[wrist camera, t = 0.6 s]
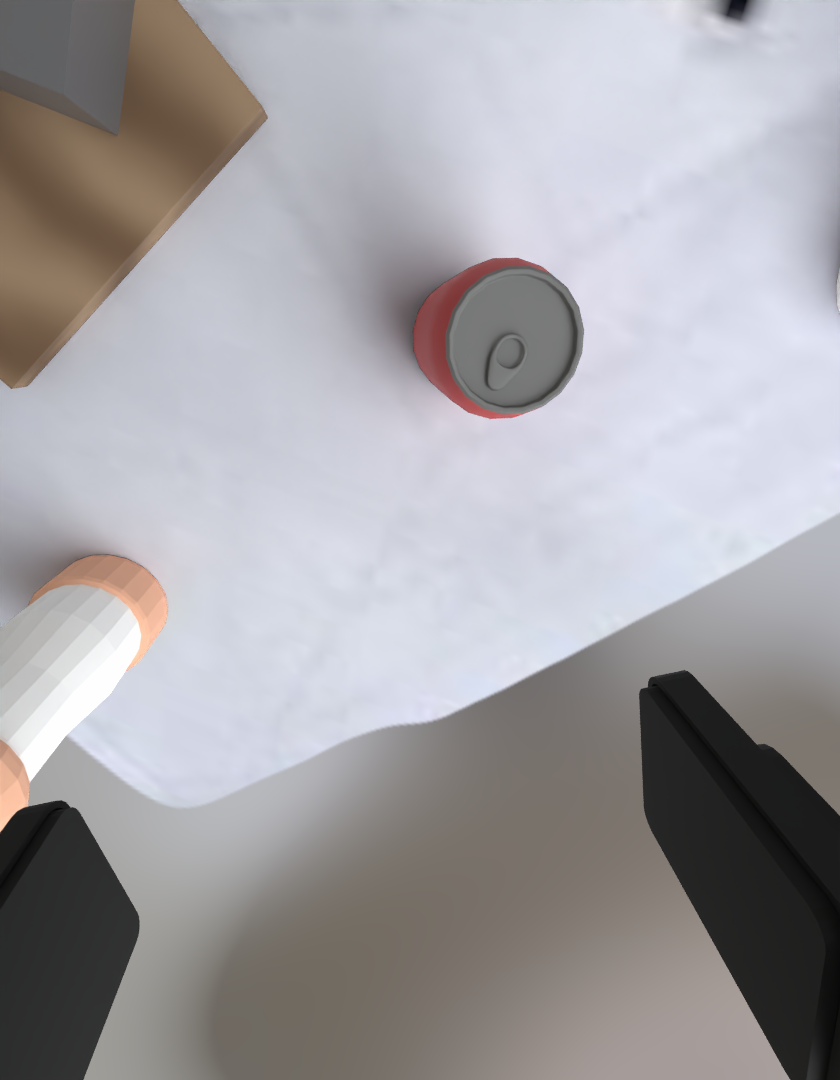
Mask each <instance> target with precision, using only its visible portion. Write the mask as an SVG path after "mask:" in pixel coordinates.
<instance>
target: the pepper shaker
mask: <svg viewBox="0 0 840 1080" xmlns="http://www.w3.org/2000/svg"><path fill="white" fill-rule="evenodd" d="M167 612H168V606H167V601H166V596H165V593H164V591H163V589H162V588H161V586H160V584H159V583H158V581H157V579H155V578H154V577H153V576H152V575H151V574H150V573H149V572H148V571H147V570H146V569H145V568H144V567H142V566H140V565H138V564H136V563H134V562H132V561H130V560H128V559H125V558H121V557H117V556H112V555H92V556H88V557H85V558H83V559H80V560H77V561H75V562H73V563H72V564H71V565H69V566H68V567H67V568H66V569H64V570H63V571H62V572H61V573H59V574H58V575H57V576H55V577H54V578H53V579H52V580H50V581H49V582H48V583H46V584H45V585H44V586H43V587H42V588H40V589H39V590H38V591H37V592H36V593H34V595H33V597H32V599H31V601H30V603H29V604H28V606H27V607H26V608H25V609H24V610H22V611H21V612H20V613H18V614H17V615H16V616H14V617H13V618H12V619H10V620H9V621H8V622H7V623H6V624H4V625H3V626H2V627H1V628H0V832H1V831H2V829H3V828H4V827H5V825H6V824H7V823H8V821H9V820H10V818H11V817H12V816H13V815H14V814H15V813H16V812H17V811H18V810H20V809H22V808H24V807H28V799H29V785H30V781H31V780H32V779H33V778H34V776H35V775H36V774H37V772H38V771H39V770H40V768H41V767H42V766H43V765H44V763H45V762H46V761H47V759H48V758H49V757H50V755H51V754H52V753H53V752H54V750H55V749H56V748H57V746H58V745H59V744H60V742H61V741H62V740H63V738H64V737H65V736H66V735H67V734H68V733H69V732H70V731H71V730H72V729H73V728H74V727H75V726H76V725H77V724H78V723H80V722H81V721H82V720H83V719H84V718H85V717H86V716H87V715H88V714H89V713H90V712H91V711H93V710H94V709H95V708H96V707H97V706H98V705H99V704H100V703H101V702H102V701H103V700H104V699H105V698H107V697H108V696H109V695H110V693H111V692H112V690H113V689H114V687H115V686H116V684H117V683H118V681H119V680H120V678H121V677H122V675H123V674H124V672H125V671H128V670H129V669H130V668H132V667H133V666H134V665H136V664H137V663H138V662H139V661H140V660H141V659H142V657H143V656H144V655H145V653H146V652H147V650H148V649H149V647H150V646H151V645H152V643H153V642H154V640H155V639H156V637H157V636H158V634H159V633H160V631H161V630H162V628H163V626H164V625H165V623H166V618H167Z"/></svg>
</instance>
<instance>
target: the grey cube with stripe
mask: <svg viewBox="0 0 840 1080" xmlns="http://www.w3.org/2000/svg"><path fill="white" fill-rule="evenodd" d="M134 5H135V0H0V90H2V91H5V92H7V93H10V94H12V95H15V96H18V97H20V98H23V99H25V100H28V101H30V102H33V103H35V104H38V105H40V106H43V107H46V108H48V109H51V110H53V111H56V112H58V113H61V114H63V115H66V116H68V117H71V118H74V119H76V120H79V121H81V122H84V123H86V124H89V125H91V126H94V127H96V128H99V129H102V130H104V131H107V132H109V133H112V134H114V135H117V136H118V132H119V124H120V116H121V108H122V100H123V92H124V84H125V76H126V69H127V61H128V53H129V45H130V37H131V29H132V21H133V13H134Z"/></svg>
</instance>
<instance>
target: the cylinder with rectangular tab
mask: <svg viewBox="0 0 840 1080" xmlns="http://www.w3.org/2000/svg"><path fill="white" fill-rule="evenodd" d="M836 291H837V307H838V310H839V313H840V269H839V274H838V279H837V283H836Z"/></svg>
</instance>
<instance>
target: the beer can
mask: <svg viewBox="0 0 840 1080" xmlns="http://www.w3.org/2000/svg"><path fill="white" fill-rule="evenodd" d="M583 335H584V328H583V323H582V319H581V314H580V310H579V306H578V305H577V303H576V301H575V300H574V298H573V296H572V295H571V293H570V291H569V290H568V288H567V287H566V286H565V285H564V284H562V283H561V282H560V281H559V280H558V279H556V278H555V277H554V276H553V275H552V274H550V273H549V272H548V271H547V270H546V269H544V268H543V267H541V266H539V265H536V264H533V263H531V262H528V261H525V260H522V259H519V258H493V259H490V260H487V261H485V262H482V263H480V264H477V265H475V266H472V267H469V268H468V269H466V270H464V271H463V272H461V273H460V274H458V275H456V276H455V277H453V278H452V279H450V280H448V281H447V282H445V283H444V284H442V285H441V286H440V287H439V288H437V289H436V290H435V291H434V292H433V293H431V294H430V295H429V296H428V297H427V299H426V300H425V302H424V304H423V305H422V307H421V308H420V310H419V312H418V314H417V318H416V321H415V325H414V329H413V348H414V352H415V355H416V358H417V361H418V364H419V367H420V368H421V370H422V371H423V372H424V374H425V375H426V376H427V378H428V379H429V381H430V382H431V383H433V384H434V385H435V386H436V387H437V388H438V389H439V390H440V391H441V392H442V393H443V394H445V395H446V396H447V397H448V398H449V399H450V400H451V401H453V402H454V403H456V404H457V405H459V406H460V407H461V408H463V409H464V410H466V411H467V412H468V413H472V414H475V415H479V416H482V417H486V418H489V419H496V418H513V417H516V416H519V415H522V414H525V413H527V412H530V411H533V410H535V409H537V408H540V407H542V406H544V405H545V404H547V403H548V402H549V401H551V400H552V399H553V398H555V397H556V396H557V395H558V394H560V393H561V392H562V390H563V389H564V388H565V386H566V385H567V383H568V382H569V381H570V379H571V378H572V377H573V375H574V373H575V371H576V368H577V365H578V363H579V360H580V357H581V354H582V348H583Z"/></svg>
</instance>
